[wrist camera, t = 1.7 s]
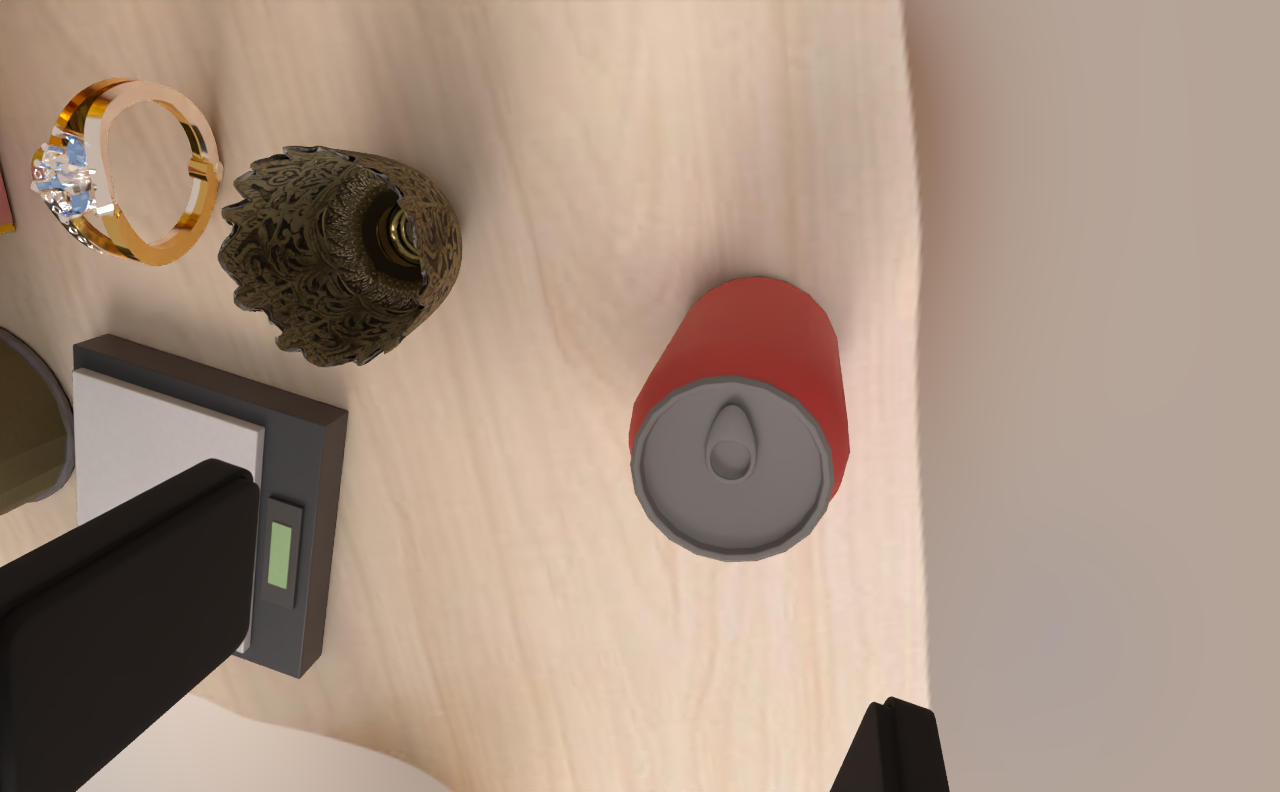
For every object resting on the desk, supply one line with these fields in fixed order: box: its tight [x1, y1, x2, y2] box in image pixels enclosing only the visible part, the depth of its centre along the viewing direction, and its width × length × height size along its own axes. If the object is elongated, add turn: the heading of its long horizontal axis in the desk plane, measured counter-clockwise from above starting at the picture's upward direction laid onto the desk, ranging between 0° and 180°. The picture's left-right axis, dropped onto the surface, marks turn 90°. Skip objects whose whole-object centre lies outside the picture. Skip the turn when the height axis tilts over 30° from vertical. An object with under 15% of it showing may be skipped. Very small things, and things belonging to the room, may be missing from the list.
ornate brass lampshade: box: [218, 146, 462, 367], centre depth 30 cm, size 8×7×8 cm
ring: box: [30, 78, 223, 266], centre depth 31 cm, size 7×3×8 cm, turn 167°
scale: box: [72, 334, 348, 679], centre depth 40 cm, size 15×13×3 cm
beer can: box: [629, 277, 850, 562], centre depth 27 cm, size 7×7×12 cm
